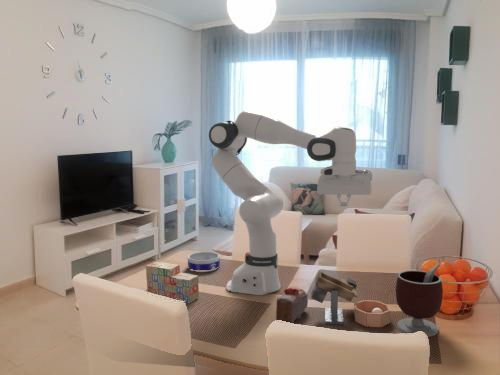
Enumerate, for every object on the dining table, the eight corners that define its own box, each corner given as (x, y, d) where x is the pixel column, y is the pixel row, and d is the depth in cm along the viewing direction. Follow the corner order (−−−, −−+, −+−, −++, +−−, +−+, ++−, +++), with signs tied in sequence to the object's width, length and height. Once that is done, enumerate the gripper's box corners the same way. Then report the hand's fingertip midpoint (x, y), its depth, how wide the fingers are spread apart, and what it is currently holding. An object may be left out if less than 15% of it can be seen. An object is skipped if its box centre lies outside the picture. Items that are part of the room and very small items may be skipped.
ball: (384, 320, 140) (372, 320, 141) (382, 315, 144) (371, 316, 144) (383, 310, 140) (372, 310, 140) (381, 305, 143) (370, 306, 144)
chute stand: (325, 324, 140) (325, 291, 138) (325, 310, 151) (325, 279, 149) (343, 325, 139) (344, 291, 137) (342, 311, 150) (342, 280, 148)
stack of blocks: (199, 298, 164) (198, 267, 163) (189, 304, 159) (188, 272, 157) (157, 289, 175) (156, 260, 173) (147, 294, 169) (145, 264, 168)
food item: (288, 306, 155) (288, 280, 154) (309, 310, 151) (309, 283, 150) (273, 321, 143) (273, 293, 141) (296, 326, 139) (296, 297, 138)
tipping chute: (308, 298, 142) (319, 276, 140) (310, 280, 159) (319, 261, 158) (351, 318, 140) (362, 297, 139) (348, 297, 158) (357, 278, 156)
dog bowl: (206, 275, 192) (206, 262, 191) (181, 269, 201) (180, 257, 200) (226, 266, 205) (225, 254, 204) (201, 261, 213) (201, 249, 212)
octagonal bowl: (355, 325, 138) (356, 312, 137) (353, 311, 149) (353, 299, 148) (391, 327, 136) (391, 314, 136) (386, 313, 147) (386, 301, 147)
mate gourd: (417, 341, 127) (419, 277, 124) (385, 323, 139) (387, 264, 137) (454, 331, 133) (457, 270, 130) (421, 314, 146) (422, 258, 143)
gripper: (371, 169, 161) (370, 204, 163) (317, 169, 164) (317, 204, 166) (373, 170, 155) (372, 207, 156) (316, 170, 158) (316, 207, 160)
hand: (343, 206), depth 161 cm, fingers closed
